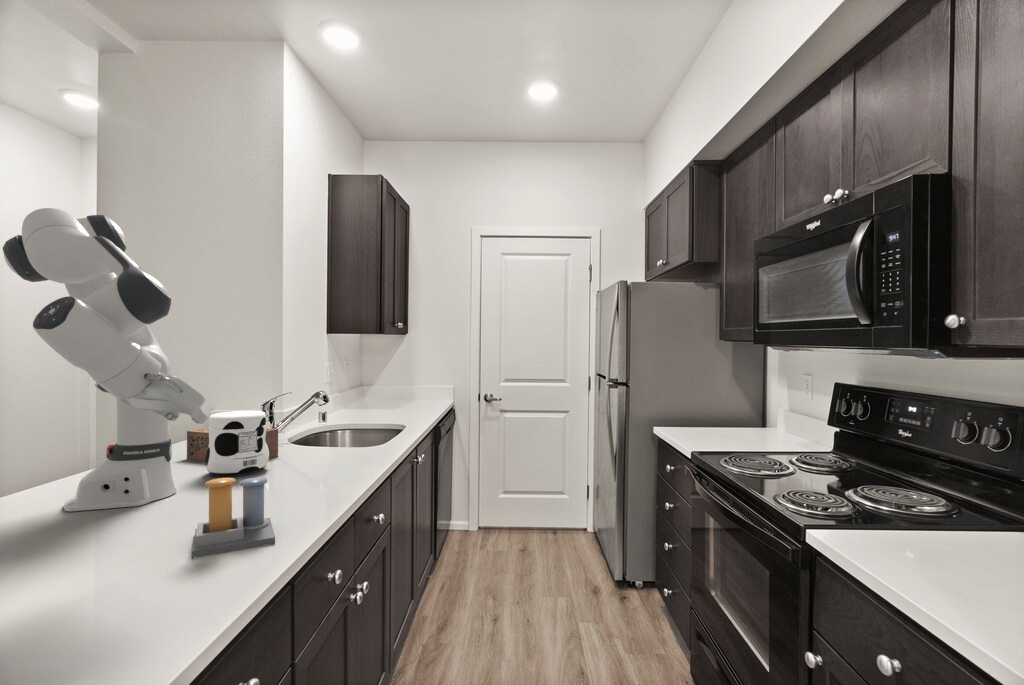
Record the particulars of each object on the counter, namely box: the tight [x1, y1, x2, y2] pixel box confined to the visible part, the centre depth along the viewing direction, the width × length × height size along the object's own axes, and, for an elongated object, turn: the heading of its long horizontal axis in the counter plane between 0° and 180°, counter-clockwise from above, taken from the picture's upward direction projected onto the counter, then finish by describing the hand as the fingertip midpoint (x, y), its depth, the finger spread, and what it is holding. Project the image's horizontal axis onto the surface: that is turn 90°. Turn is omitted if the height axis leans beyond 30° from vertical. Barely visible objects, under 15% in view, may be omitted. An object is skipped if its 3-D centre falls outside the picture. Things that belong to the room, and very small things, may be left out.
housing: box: [191, 476, 276, 559], centre depth 103 cm, size 14×13×11 cm
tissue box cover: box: [186, 426, 279, 462], centre depth 175 cm, size 26×14×10 cm, turn 70°
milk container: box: [204, 410, 270, 477], centre depth 156 cm, size 17×17×18 cm
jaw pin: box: [204, 477, 236, 533], centre depth 101 cm, size 5×5×11 cm
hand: (189, 419), depth 100 cm, fingers open, 8 cm apart
